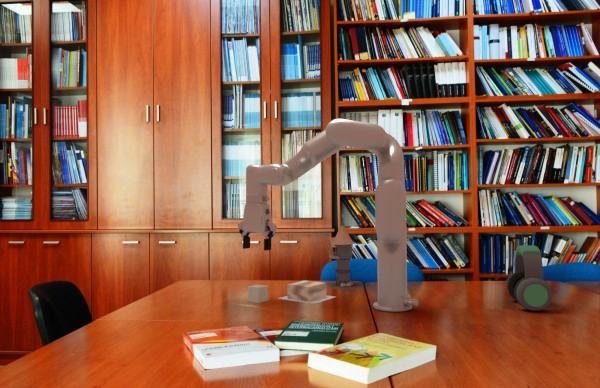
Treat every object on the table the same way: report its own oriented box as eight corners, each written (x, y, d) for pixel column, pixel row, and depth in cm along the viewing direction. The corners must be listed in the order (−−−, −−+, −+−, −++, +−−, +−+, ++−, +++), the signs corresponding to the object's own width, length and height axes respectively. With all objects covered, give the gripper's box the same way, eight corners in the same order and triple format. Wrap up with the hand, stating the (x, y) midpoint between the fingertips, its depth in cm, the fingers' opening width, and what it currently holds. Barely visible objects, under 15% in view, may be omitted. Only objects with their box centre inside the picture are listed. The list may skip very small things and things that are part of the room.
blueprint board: (336, 298, 180) (336, 296, 180) (314, 306, 169) (314, 303, 169) (300, 294, 190) (300, 292, 190) (277, 300, 179) (277, 298, 179)
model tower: (325, 284, 211) (324, 212, 211) (349, 282, 214) (349, 212, 214) (334, 288, 202) (333, 213, 202) (359, 286, 205) (358, 212, 205)
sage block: (268, 303, 175) (268, 285, 175) (258, 305, 171) (258, 288, 171) (257, 301, 178) (257, 284, 178) (247, 303, 174) (247, 286, 174)
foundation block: (326, 296, 180) (326, 282, 180) (310, 301, 172) (310, 287, 172) (304, 293, 186) (303, 280, 186) (287, 298, 178) (287, 284, 178)
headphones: (555, 313, 155) (554, 248, 155) (517, 312, 157) (516, 248, 157) (538, 300, 174) (538, 243, 174) (505, 299, 176) (504, 242, 176)
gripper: (282, 200, 173) (283, 249, 173) (245, 200, 183) (245, 246, 183) (268, 200, 167) (269, 251, 167) (231, 200, 177) (231, 248, 177)
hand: (256, 249), depth 175 cm, fingers open, 9 cm apart
